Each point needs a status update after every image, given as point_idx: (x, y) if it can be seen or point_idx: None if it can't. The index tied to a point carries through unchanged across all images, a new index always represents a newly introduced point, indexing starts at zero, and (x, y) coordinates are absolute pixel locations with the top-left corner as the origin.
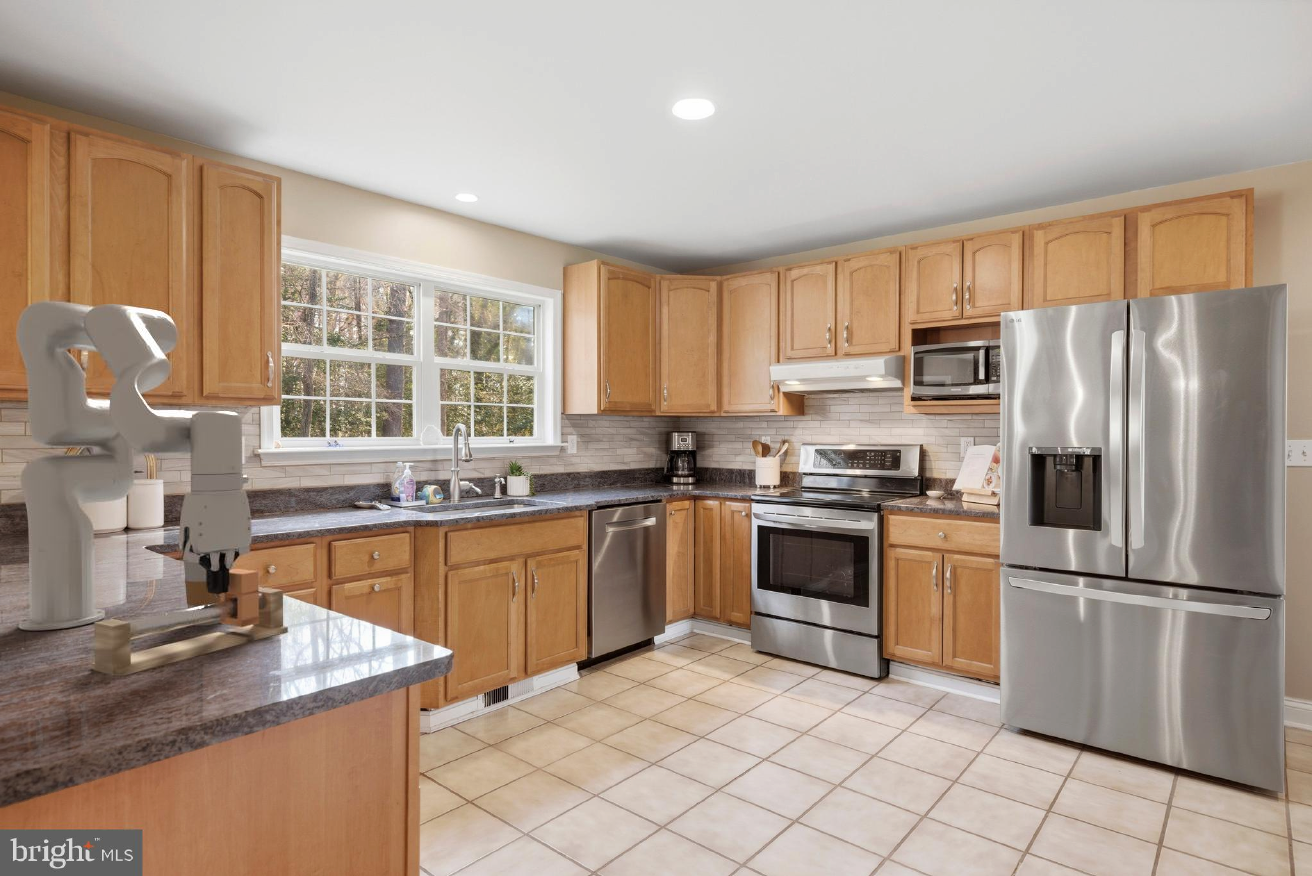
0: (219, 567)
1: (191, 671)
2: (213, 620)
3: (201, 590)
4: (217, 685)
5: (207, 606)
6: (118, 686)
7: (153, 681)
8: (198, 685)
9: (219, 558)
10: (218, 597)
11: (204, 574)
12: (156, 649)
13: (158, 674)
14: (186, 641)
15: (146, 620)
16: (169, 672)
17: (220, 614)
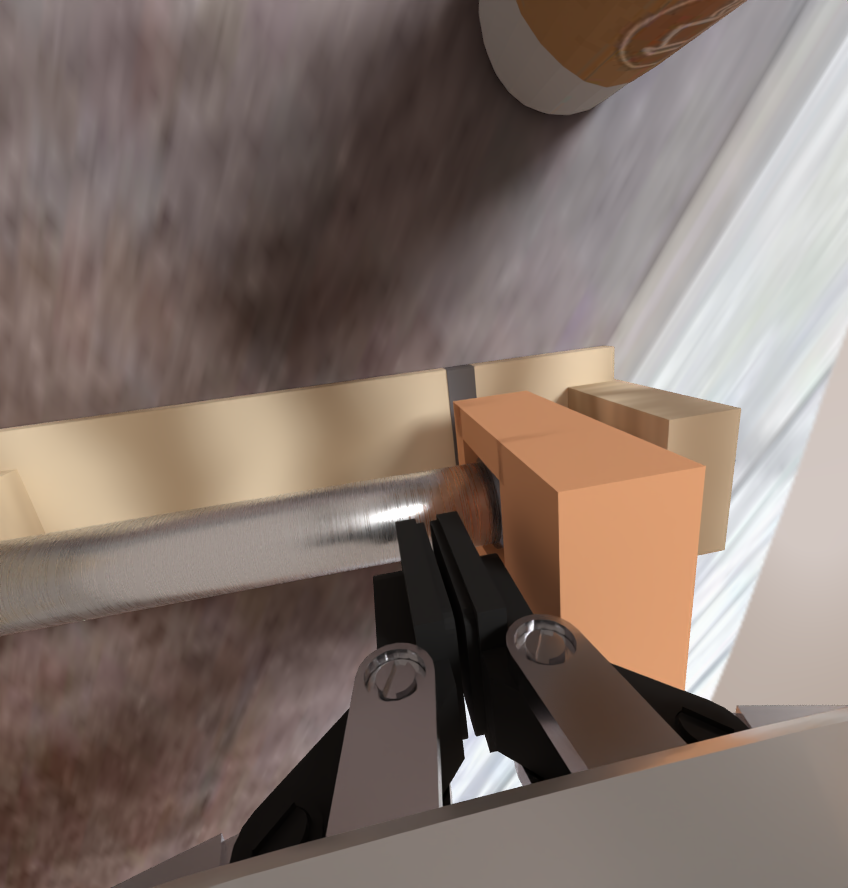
0: (487, 699)
1: (221, 693)
2: (543, 109)
3: None
4: (229, 827)
5: (354, 562)
6: (20, 691)
7: (113, 710)
8: (196, 804)
9: (552, 728)
10: (629, 58)
11: None
12: (187, 440)
13: (140, 660)
14: (307, 416)
15: (25, 626)
16: (171, 662)
17: None
